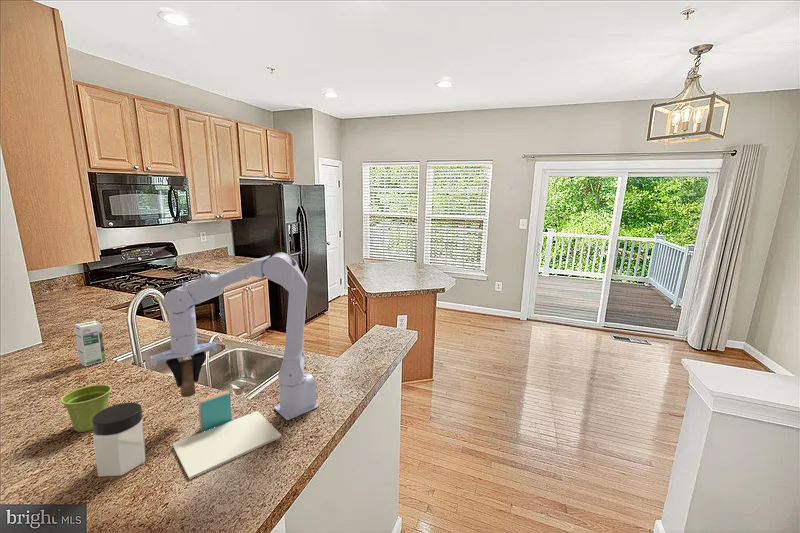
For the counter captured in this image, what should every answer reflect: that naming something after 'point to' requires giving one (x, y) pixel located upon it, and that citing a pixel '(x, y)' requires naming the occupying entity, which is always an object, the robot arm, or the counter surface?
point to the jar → (119, 439)
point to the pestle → (187, 378)
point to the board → (224, 443)
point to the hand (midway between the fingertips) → (187, 382)
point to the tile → (214, 410)
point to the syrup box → (90, 342)
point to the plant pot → (86, 405)
